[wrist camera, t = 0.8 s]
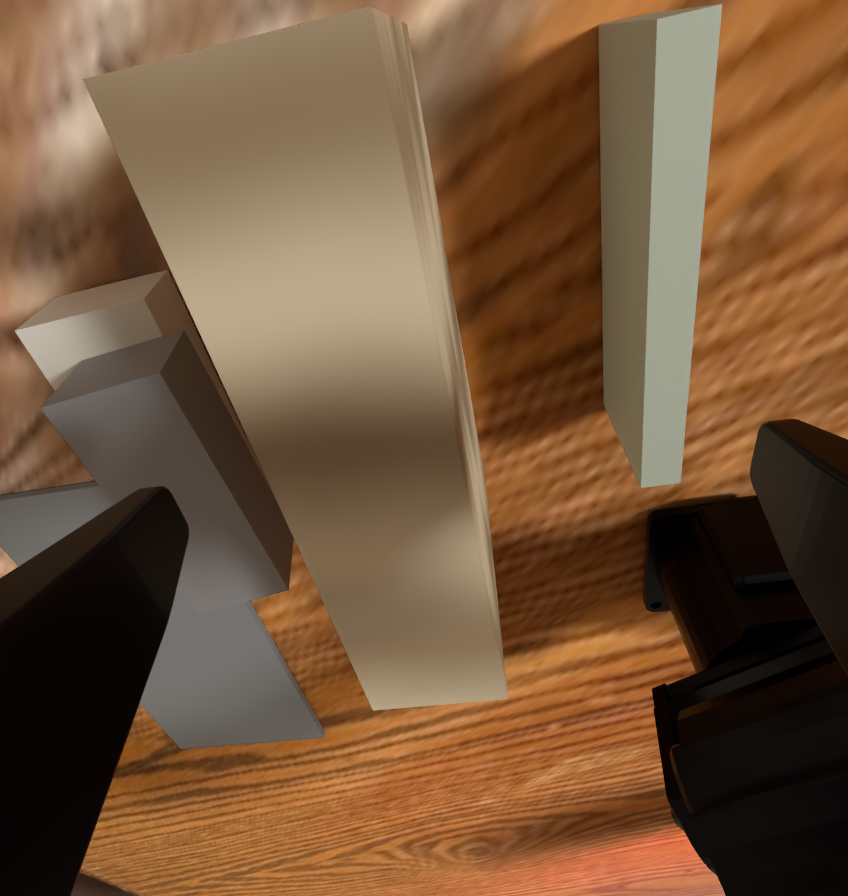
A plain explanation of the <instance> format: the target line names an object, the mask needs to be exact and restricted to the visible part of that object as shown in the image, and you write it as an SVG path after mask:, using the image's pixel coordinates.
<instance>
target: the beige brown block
mask: <svg viewBox="0 0 848 896" xmlns="http://www.w3.org/2000/svg"><path fill="white" fill-rule="evenodd" d="M83 80H84V83H85V85H86V87H87V89H88V91H89V93H90V96H91V98H92V100H93V102H94V104H95V107H96V109H97V111H98V113H99V115H100V117H101V120H102V122H103V124H104V126H105V128H106V130H107V133H108V135H109V137H110V139H111V141H112V144H113V146H114V148H115V150H116V152H117V154H118V157H119V159H120V161H121V163H122V165H123V167H124V170H125V172H126V174H127V176H128V178H129V181H130V183H131V185H132V187H133V189H134V191H135V194H136V196H137V198H138V200H139V202H140V204H141V207H142V209H143V211H144V213H145V215H146V218H147V220H148V222H149V224H150V226H151V228H152V231H153V233H154V235H155V237H156V239H157V241H158V244H159V246H160V248H161V250H162V252H163V255H164V257H165V259H166V261H167V263H168V265H169V268H170V270H171V272H172V274H173V276H174V278H175V281H176V283H177V285H178V287H179V289H180V292H181V294H182V296H183V298H184V300H185V302H186V305H187V307H188V309H189V311H190V313H191V315H192V318H193V320H194V322H195V324H196V326H197V329H198V331H199V333H200V335H201V337H202V339H203V342H204V344H205V346H206V348H207V350H208V352H209V355H210V357H211V359H212V361H213V363H214V366H215V368H216V370H217V372H218V374H219V376H220V379H221V381H222V383H223V385H224V387H225V389H226V392H227V394H228V396H229V398H230V400H231V403H232V405H233V407H234V409H235V411H236V413H237V416H238V418H239V420H240V422H241V424H242V426H243V429H244V431H245V433H246V435H247V437H248V440H249V442H250V444H251V446H252V448H253V450H254V453H255V455H256V457H257V459H258V461H259V463H260V466H261V468H262V470H263V472H264V474H265V477H266V479H267V481H268V483H269V485H270V487H271V490H272V492H273V494H274V496H275V498H276V500H277V503H278V505H279V507H280V509H281V511H282V514H283V516H284V518H285V520H286V522H287V524H288V527H289V529H290V531H291V533H292V535H293V537H294V540H295V542H296V544H297V546H298V548H299V551H300V553H301V555H302V557H303V559H304V561H305V564H306V566H307V568H308V570H309V572H310V574H311V577H312V579H313V581H314V583H315V585H316V588H317V590H318V592H319V594H320V596H321V598H322V601H323V603H324V605H325V607H326V609H327V611H328V614H329V616H330V618H331V620H332V622H333V625H334V627H335V629H336V631H337V633H338V635H339V638H340V640H341V642H342V644H343V646H344V648H345V651H346V653H347V655H348V657H349V659H350V662H351V664H352V666H353V668H354V670H355V672H356V675H357V677H358V679H359V681H360V683H361V685H362V688H363V690H364V692H365V694H366V696H367V699H368V701H369V703H370V705H371V707H372V709H373V710H384V709H396V708H408V707H419V706H431V705H443V704H455V703H466V702H478V701H490V700H502V699H508V696H507V686H506V677H505V667H504V657H503V648H502V638H501V628H500V619H499V609H498V599H497V590H496V580H495V570H494V561H493V551H492V541H491V532H490V522H489V512H488V503H487V493H486V483H485V476H484V471H483V465H482V459H481V453H480V447H479V442H478V436H477V430H476V424H475V418H474V412H473V407H472V401H471V395H470V389H469V383H468V377H467V372H466V366H465V360H464V354H463V348H462V342H461V337H460V331H459V325H458V319H457V313H456V307H455V302H454V296H453V290H452V284H451V278H450V272H449V267H448V261H447V255H446V249H445V243H444V237H443V232H442V226H441V220H440V214H439V208H438V202H437V197H436V191H435V185H434V179H433V173H432V168H431V162H430V156H429V150H428V144H427V138H426V133H425V127H424V121H423V115H422V109H421V103H420V98H419V92H418V86H417V80H416V74H415V68H414V63H413V57H412V51H411V45H410V39H409V33H408V28H407V24H405V23H403V22H401V21H399V20H397V19H395V18H393V17H391V16H389V15H387V14H385V13H382V12H380V11H378V10H376V9H374V8H372V7H370V6H369V7H365V8H361V9H358V10H354V11H350V12H346V13H342V14H338V15H334V16H330V17H326V18H322V19H318V20H314V21H310V22H306V23H302V24H298V25H295V26H291V27H287V28H283V29H279V30H275V31H271V32H267V33H263V34H259V35H255V36H251V37H247V38H243V39H239V40H236V41H232V42H228V43H224V44H220V45H216V46H212V47H208V48H204V49H200V50H196V51H192V52H188V53H184V54H180V55H177V56H173V57H169V58H165V59H161V60H157V61H153V62H149V63H145V64H141V65H137V66H133V67H129V68H125V69H121V70H118V71H114V72H110V73H106V74H102V75H98V76H94V77H90V78H86V79H83Z"/></svg>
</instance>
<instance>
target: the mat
mask: <svg viewBox="0 0 848 896" xmlns="http://www.w3.org/2000/svg"><path fill="white" fill-rule="evenodd" d="M113 505H114V504H113V503H112V502H111V500H110V499H109V498H108V496H107V495H106V494H105V492H104V491H103V490H102V488H101V487H100V486H99V485H98V483H97V482H96V481H94V482H87V483H80V484H74V485H67V486H60V487H54V488H47V489H40V490H34V491H27V492H20V493H14V494H7V495H0V546H1V547H2V549H3V550H4V551H5V552H6V553H7V554H8V555H9V556H10V558H11V559H12V560H13V561H14V562H15V563H16V564H17V565H18V567H19V566H20V565H22V564H23V563H25V562H26V561H28V560H29V559H31V558H33V557H34V556H36V555H37V554H39V553H40V552H42V551H43V550H45V549H46V548H48V547H50V546H51V545H53V544H54V543H56V542H57V541H59V540H60V539H62V538H63V537H65V536H66V535H68V534H70V533H71V532H73V531H74V530H76V529H77V528H79V527H80V526H82V525H83V524H85V523H86V522H88V521H90V520H91V519H93V518H94V517H96V516H97V515H99V514H100V513H102V512H103V511H105V510H106V509H108V508H110V507H111V506H113ZM140 704H141V705H142V706H143V707H144V708H145V709H146V711H147V712H148V713H149V714H150V715H151V716H152V717H153V718H154V720H155V721H156V722H157V723H158V724H159V725H160V726H161V727H162V729H163V730H164V731H165V732H166V733H167V734H168V735H169V736H170V738H171V739H172V740H173V741H174V742H175V743H176V744H177V745H178V747H179V748H180V749H189V748H202V747H215V746H227V745H240V744H252V743H265V742H278V741H290V740H303V739H315V738H324V734H325V731H324V729H323V727H322V726H321V724H320V722H319V720H318V719H317V717H316V715H315V713H314V712H313V710H312V708H311V706H310V705H309V703H308V701H307V699H306V698H305V696H304V694H303V692H302V691H301V689H300V687H299V686H298V684H297V682H296V680H295V679H294V677H293V675H292V673H291V672H290V670H289V668H288V666H287V665H286V663H285V661H284V659H283V658H282V656H281V654H280V652H279V651H278V649H277V647H276V645H275V644H274V642H273V640H272V638H271V637H270V635H269V633H268V631H267V630H266V628H265V626H264V624H263V623H262V621H261V619H260V617H259V616H258V614H257V612H256V610H255V609H254V607H253V605H252V603H251V602H250V601H247V602H244V603H240V604H237V605H233V606H229V607H226V608H222V609H219V610H215V611H211V612H208V613H204V614H201V615H198V614H197V612H196V611H195V610H194V609H193V607H192V606H191V605H190V603H189V602H188V601H187V599H186V598H185V597H184V595H183V594H182V593H181V592H180V590H179V589H178V588H177V590H176V594H175V598H174V602H173V606H172V610H171V614H170V617H169V621H168V624H167V627H166V630H165V633H164V636H163V639H162V642H161V645H160V648H159V650H158V653H157V656H156V659H155V662H154V664H153V667H152V670H151V673H150V676H149V678H148V681H147V684H146V687H145V690H144V692H143V695H142V698H141V701H140Z"/></svg>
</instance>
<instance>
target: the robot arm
mask: <svg viewBox="0 0 848 896" xmlns="http://www.w3.org/2000/svg"><path fill="white" fill-rule="evenodd" d="M750 477H751V482H752V485H753V488H754V490H755V492H756V495H757V497H758V498H753V499H745V500H737V501H729V502H721V503H713V504H705V505H697V506H689V507H681V508H673V509H665V510H658V511H654V512H653V513H651V514H650V515H649V516H648V518H647V526H646V549H645V571H644V594H643V601H644V604H645V607H646V609H647V610H648V611H651V612H659V611H668V610H671V611H672V614H673V616H674V619H675V621H676V624H677V626H678V629H679V631H680V634H681V636H682V639H683V641H684V644H685V646H686V648H687V651H688V653H689V656H690V658H691V661H692V663H693V666H694V668H695V671H696V673H695V674H693V675H690V676H688V677H686V678H683V679H681V680H678V681H676V682H673V683H671V684H668V685H666V684H665V683H664V684H662V685H659V686H657V687H654V688H652V693H653V700H654V706H655V708H654V715H655V722H656V728H657V735H658V742H659V748H660V755H661V762H662V768H663V775H664V782H665V788H666V795H667V799H668V801H669V803H670V805H671V814H672V817H673V819H674V821H675V823H676V825H677V826H678V827H679V828H681V829H682V830H684V831H685V833H686V835H687V837H688V839H689V841H690V842H691V844H692V846H693V848H694V849H695V851H696V852H697V854H698V855H699V857H700V858H701V860H702V861H703V862H704V863H705V864H706V866H707V867H708V868H709V869H710V870H711V871H712V872H713V873H715V874H716V875H717V876H718V879H719V881H720V883H721V885H722V887H723V890H724V892H725V895H726V896H848V440H847V439H845V438H842V437H840V436H837V435H835V434H832V433H830V432H827V431H825V430H822V429H820V428H817V427H815V426H812V425H810V424H807V423H805V422H802V421H800V420H797V419H785V420H776V421H768V422H765V423H764V424H762V425H761V427H760V429H759V431H758V435H757V440H756V444H755V449H754V453H753V458H752V463H751V468H750ZM658 521H662V522H659V523H657V522H658ZM188 540H189V527H188V523H187V521H186V519H185V517H184V515H183V514H182V512H181V510H180V508H179V506H178V504H177V502H176V500H175V499H174V497H173V495H172V493H171V492H170V490H169V489H168V488H166V487H163V486H156V487H147V488H140V489H138V490H136V491H134V492H133V493H131V494H130V495H128V496H126V497H125V498H123V499H122V500H120V501H119V502H117V503H116V504H114V505H113V506H111V507H110V508H108V509H106V510H105V511H103V512H102V513H100V514H99V515H97V516H96V517H94V518H93V519H91V520H90V521H88V522H86V523H85V524H83V525H82V526H80V527H79V528H77V529H76V530H74V531H73V532H71V533H70V534H68V535H66V536H65V537H63V538H62V539H60V540H59V541H57V542H56V543H54V544H53V545H51V546H50V547H48V548H46V549H45V550H43V551H42V552H40V553H39V554H37V555H36V556H34V557H33V558H31V559H29V560H28V561H26V562H25V563H23V564H22V565H20V566H19V567H17V568H16V569H14V570H13V571H11V572H9V573H8V574H6V575H5V576H3V577H2V578H0V896H71V894H72V891H73V888H74V885H75V883H76V879H77V877H78V874H79V871H80V869H81V866H82V863H83V860H84V857H85V855H86V852H87V849H88V846H89V843H90V841H91V838H92V835H93V832H94V830H95V827H96V824H97V821H98V818H99V816H100V813H101V810H102V807H103V804H104V802H105V799H106V796H107V793H108V790H109V788H110V785H111V782H112V779H113V776H114V774H115V771H116V768H117V765H118V762H119V760H120V757H121V754H122V751H123V748H124V746H125V743H126V740H127V737H128V734H129V732H130V729H131V726H132V723H133V720H134V718H135V715H136V712H137V709H138V706H139V704H140V701H141V698H142V695H143V692H144V690H145V687H146V684H147V681H148V678H149V676H150V673H151V670H152V667H153V664H154V662H155V659H156V656H157V653H158V650H159V648H160V645H161V642H162V639H163V636H164V633H165V630H166V627H167V624H168V621H169V617H170V614H171V610H172V606H173V602H174V598H175V594H176V590H177V586H178V581H179V577H180V573H181V569H182V565H183V561H184V556H185V552H186V548H187V544H188Z"/></svg>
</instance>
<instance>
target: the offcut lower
mask: <svg viewBox="0 0 848 896" xmlns="http://www.w3.org/2000/svg"><path fill="white" fill-rule="evenodd" d="M182 330H185V332H186V334H187V335H188V337H189V339H190V341H191V343H192V345H193V347H194V348H195V350H196V352H197V354H198V356H199V358H200V360H201V361H202V363H203V365H204V367H205V369H206V371H207V373H208V374H209V376H210V378H211V380H212V382H213V384H214V386H215V387H216V389H217V391H218V393H219V395H220V397H221V399H222V400H223V402H224V404H225V406H226V408H227V410H228V412H229V413H230V415H231V417H232V419H233V421H234V423H235V424H236V426H237V428H238V430H239V432H240V434H241V436H242V437H243V439H244V441H245V443H246V445H247V447H248V449H249V450H250V452H251V454H252V456H253V458H254V460H255V462H256V463H257V465H258V467H259V469H260V471H261V473H262V475H263V476H264V474H263V472H262V470H261V468H260V465H259V463H258V461H257V459H256V457H255V455H254V453H253V451H252V448H251V446H250V444H249V442H248V440H247V438H246V436H245V434H244V431H243V429H242V427H241V425H240V423H239V421H238V419H237V417H236V414H235V412H234V410H233V408H232V406H231V404H230V402H229V400H228V397H227V395H226V393H225V391H224V389H223V387H222V385H221V383H220V380H219V378H218V376H217V374H216V372H215V370H214V368H213V366H212V363H211V361H210V359H209V357H208V355H207V353H206V351H205V349H204V346H203V344H202V342H201V340H200V338H199V336H198V334H197V332H196V329H195V327H194V325H193V323H192V321H191V319H190V317H189V315H188V312H187V310H186V308H185V306H184V304H183V302H182V300H181V298H180V295H179V293H178V291H177V289H176V287H175V285H174V283H173V281H172V278H171V276H170V274H169V272H168V270H166V271H161V272H156V273H152V274H147V275H143V276H139V277H135V278H131V279H127V280H123V281H119V282H115V283H111V284H107V285H103V286H99V287H95V288H91V289H86V290H82V291H78V292H74V293H70V294H66V295H62V296H58V297H55V298H54V299H53V300H52V301H50V302H49V303H48V304H47V305H45V306H44V307H43V308H42V309H41V310H39V311H38V312H37V313H36V314H34V315H33V316H32V317H31V318H30V319H28V320H27V321H26V322H25V323H23V324H22V325H21V326H20V327H19V328H17V329H16V330H15V332H16V334H17V335H18V337H19V338H20V340H21V341H22V343H23V344H24V346H25V347H26V349H27V350H28V352H29V353H30V355H31V356H32V358H33V359H34V361H35V362H36V364H37V365H38V367H39V368H40V370H41V371H42V373H43V374H44V376H45V377H46V379H47V380H48V382H49V383H50V385H51V386H52V388H53V389H54V391H55V390H56V389H57V388H58V387H59V386H60V385H61V383H62V382H63V381H64V380H65V379H66V378H67V377H68V375H69V374H70V373H71V372H72V371H73V370H74V369H75V367H76V366H77V365H78V364H79V363H80V362H81V360H85V359H88V358H91V357H95V356H98V355H102V354H105V353H108V352H112V351H115V350H118V349H122V348H125V347H128V346H132V345H135V344H138V343H142V342H145V341H148V340H152V339H155V338H158V337H162V336H165V335H168V334H172V333H175V332H178V331H182ZM264 478H265V476H264ZM265 480H266V478H265ZM266 482H267V480H266ZM267 484H268V482H267ZM268 486H269V485H268ZM269 488H270V487H269Z"/></svg>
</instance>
